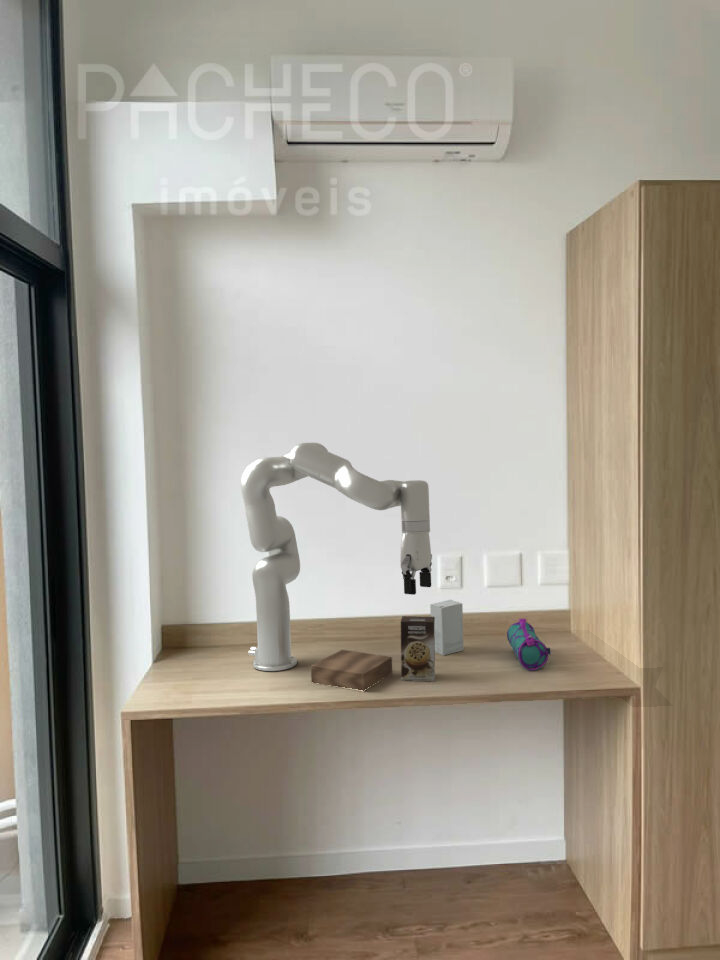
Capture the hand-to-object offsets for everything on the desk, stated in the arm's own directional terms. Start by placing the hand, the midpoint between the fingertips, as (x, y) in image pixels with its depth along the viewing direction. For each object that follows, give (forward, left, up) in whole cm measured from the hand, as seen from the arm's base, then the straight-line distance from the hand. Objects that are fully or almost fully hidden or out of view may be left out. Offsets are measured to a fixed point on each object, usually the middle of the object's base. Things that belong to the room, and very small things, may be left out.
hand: (418, 590), depth 189 cm
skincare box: (-2, +25, -24) cm, 35 cm away
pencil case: (+22, +27, -24) cm, 42 cm away
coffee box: (0, 0, -24) cm, 24 cm away
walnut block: (-16, -8, -24) cm, 30 cm away
